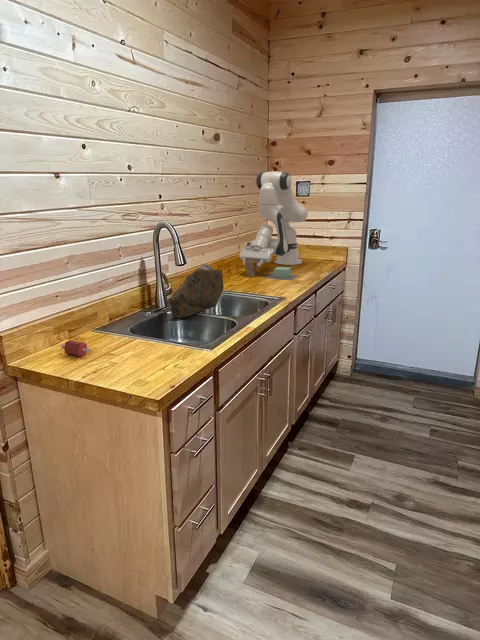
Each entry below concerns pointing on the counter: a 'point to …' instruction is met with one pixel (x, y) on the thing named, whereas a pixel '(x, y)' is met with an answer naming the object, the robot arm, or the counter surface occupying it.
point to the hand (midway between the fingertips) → (251, 265)
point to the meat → (75, 348)
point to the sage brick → (282, 272)
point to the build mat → (281, 278)
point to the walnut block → (251, 268)
